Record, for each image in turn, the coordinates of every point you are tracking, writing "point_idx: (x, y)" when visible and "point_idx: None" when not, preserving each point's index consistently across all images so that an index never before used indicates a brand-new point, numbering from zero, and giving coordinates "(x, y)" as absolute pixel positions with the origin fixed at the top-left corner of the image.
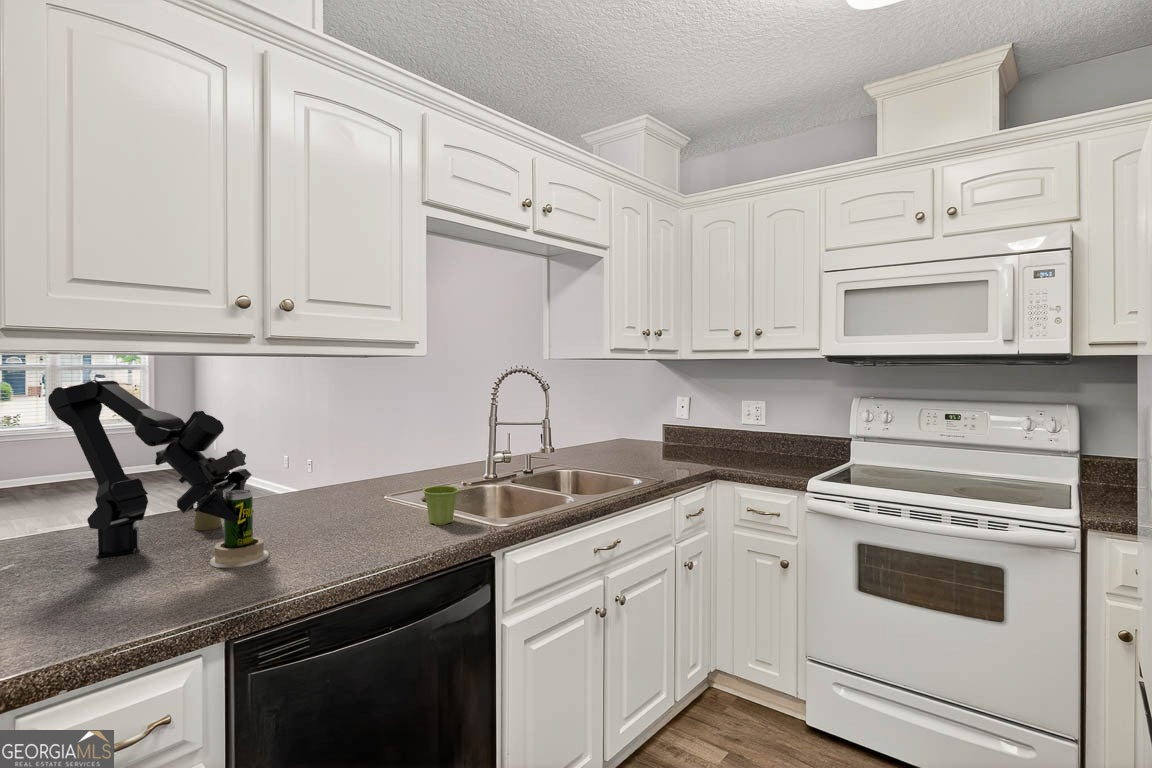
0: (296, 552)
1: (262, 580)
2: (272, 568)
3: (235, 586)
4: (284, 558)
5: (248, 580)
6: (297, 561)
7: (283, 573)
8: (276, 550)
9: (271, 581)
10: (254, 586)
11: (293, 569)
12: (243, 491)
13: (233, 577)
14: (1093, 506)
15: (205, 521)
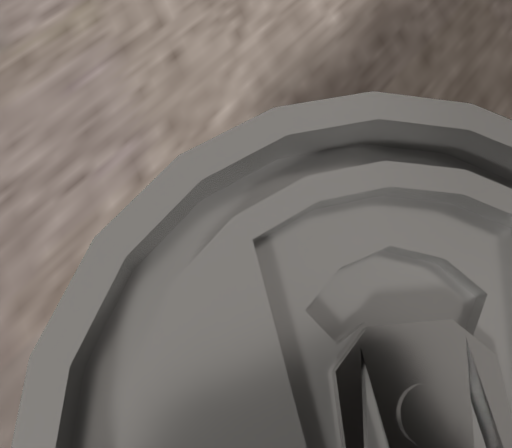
0: (26, 173)
1: (396, 41)
2: (275, 106)
3: (488, 87)
4: (136, 159)
5: (423, 90)
6: (152, 70)
7: (301, 22)
8: (25, 312)
9: (386, 5)
10: (451, 25)
11: (247, 17)
12: (276, 398)
13: None
14: None
15: None
